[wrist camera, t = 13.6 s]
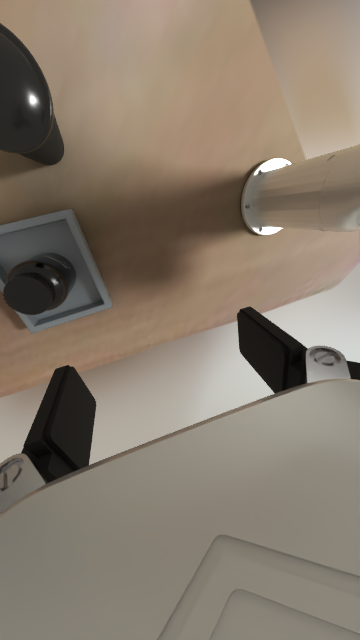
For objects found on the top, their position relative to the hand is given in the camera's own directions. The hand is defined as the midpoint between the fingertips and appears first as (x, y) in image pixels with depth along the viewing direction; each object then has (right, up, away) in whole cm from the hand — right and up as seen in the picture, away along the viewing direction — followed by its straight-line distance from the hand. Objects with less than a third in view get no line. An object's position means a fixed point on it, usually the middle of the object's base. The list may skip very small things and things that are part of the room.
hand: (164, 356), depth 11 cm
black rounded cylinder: (-17, +26, +16) cm, 35 cm away
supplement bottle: (-20, +10, +22) cm, 32 cm away
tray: (-20, +10, +23) cm, 32 cm away
